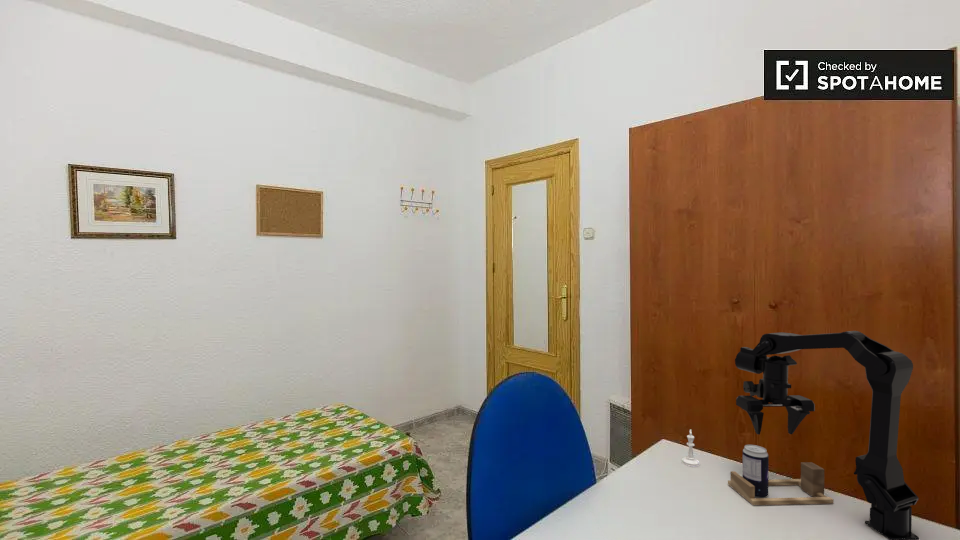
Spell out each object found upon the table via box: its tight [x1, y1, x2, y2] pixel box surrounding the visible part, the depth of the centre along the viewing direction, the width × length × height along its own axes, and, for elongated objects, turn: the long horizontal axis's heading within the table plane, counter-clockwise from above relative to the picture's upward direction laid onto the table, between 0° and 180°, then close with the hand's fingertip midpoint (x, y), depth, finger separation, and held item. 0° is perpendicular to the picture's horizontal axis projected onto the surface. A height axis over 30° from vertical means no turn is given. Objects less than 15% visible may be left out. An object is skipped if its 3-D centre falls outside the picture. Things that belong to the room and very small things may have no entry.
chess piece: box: [681, 429, 701, 468], centre depth 132 cm, size 5×5×10 cm
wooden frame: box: [727, 461, 835, 506], centre depth 114 cm, size 21×10×7 cm, turn 92°
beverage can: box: [742, 444, 770, 498], centre depth 113 cm, size 6×6×12 cm
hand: (774, 433), depth 122 cm, fingers open, 9 cm apart
